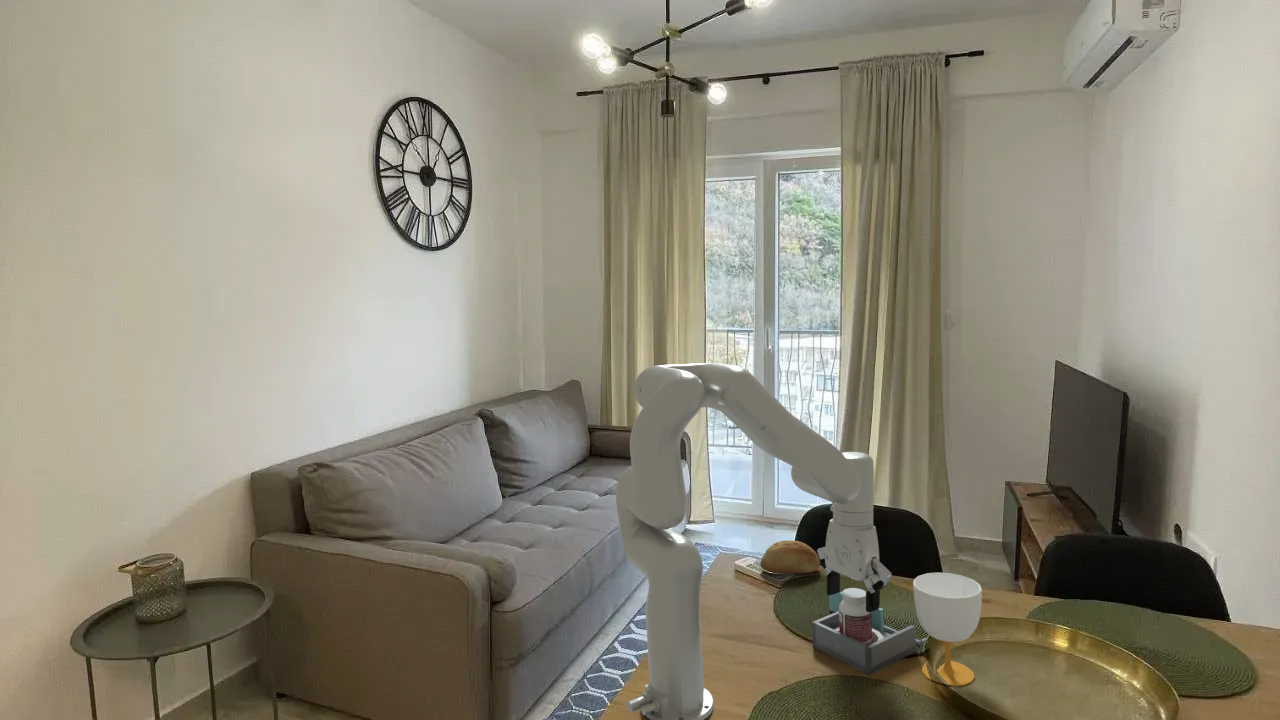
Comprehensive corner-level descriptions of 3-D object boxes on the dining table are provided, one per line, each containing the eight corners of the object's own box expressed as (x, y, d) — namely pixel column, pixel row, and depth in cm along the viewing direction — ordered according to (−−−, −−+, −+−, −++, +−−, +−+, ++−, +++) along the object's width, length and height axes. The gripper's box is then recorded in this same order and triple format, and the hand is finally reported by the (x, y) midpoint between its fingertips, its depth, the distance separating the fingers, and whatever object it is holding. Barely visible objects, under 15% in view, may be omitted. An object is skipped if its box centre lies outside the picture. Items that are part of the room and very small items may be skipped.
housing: (874, 677, 137) (873, 651, 136) (809, 644, 150) (808, 620, 150) (930, 648, 146) (930, 623, 146) (864, 620, 160) (864, 597, 159)
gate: (880, 633, 153) (879, 604, 153) (828, 610, 165) (828, 584, 164) (884, 631, 154) (883, 603, 153) (832, 609, 166) (831, 582, 165)
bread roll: (824, 579, 182) (823, 547, 182) (763, 581, 183) (762, 549, 182) (816, 564, 192) (816, 534, 191) (758, 566, 193) (757, 536, 192)
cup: (941, 696, 130) (940, 603, 128) (901, 664, 141) (899, 578, 139) (997, 683, 133) (997, 592, 131) (953, 652, 144) (952, 568, 142)
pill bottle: (879, 647, 145) (878, 593, 144) (857, 657, 142) (856, 602, 141) (854, 635, 151) (852, 583, 149) (833, 645, 147) (831, 591, 146)
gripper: (806, 509, 149) (806, 592, 150) (876, 531, 134) (875, 622, 136) (832, 503, 153) (831, 583, 154) (903, 524, 138) (902, 612, 140)
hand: (852, 601), depth 145 cm, fingers open, 9 cm apart
